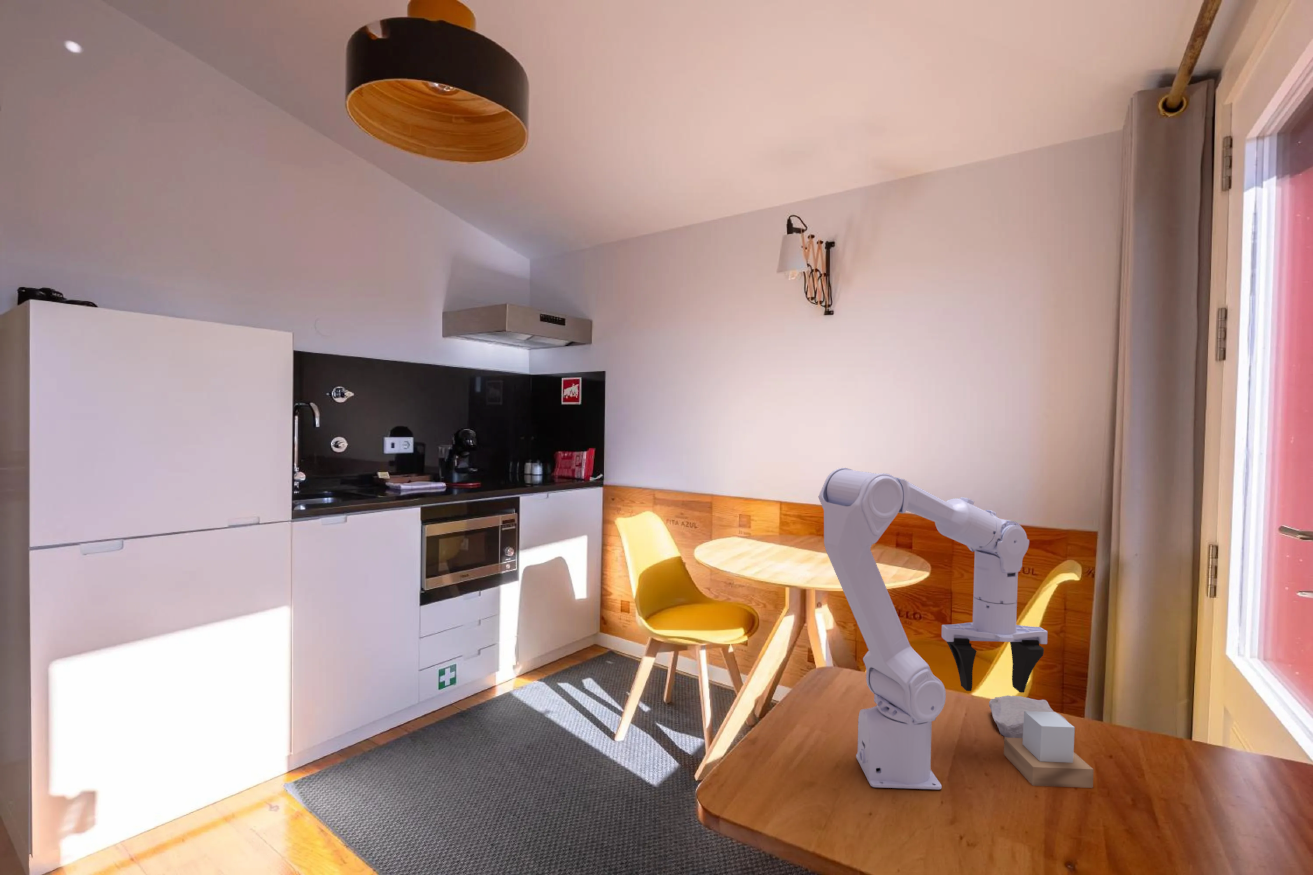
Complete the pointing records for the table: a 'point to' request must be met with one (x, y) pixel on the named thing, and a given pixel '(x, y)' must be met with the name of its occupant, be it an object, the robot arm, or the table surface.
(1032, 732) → the light grey block
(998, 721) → the stone block
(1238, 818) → the table surface
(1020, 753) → the tan square block
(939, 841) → the table surface
